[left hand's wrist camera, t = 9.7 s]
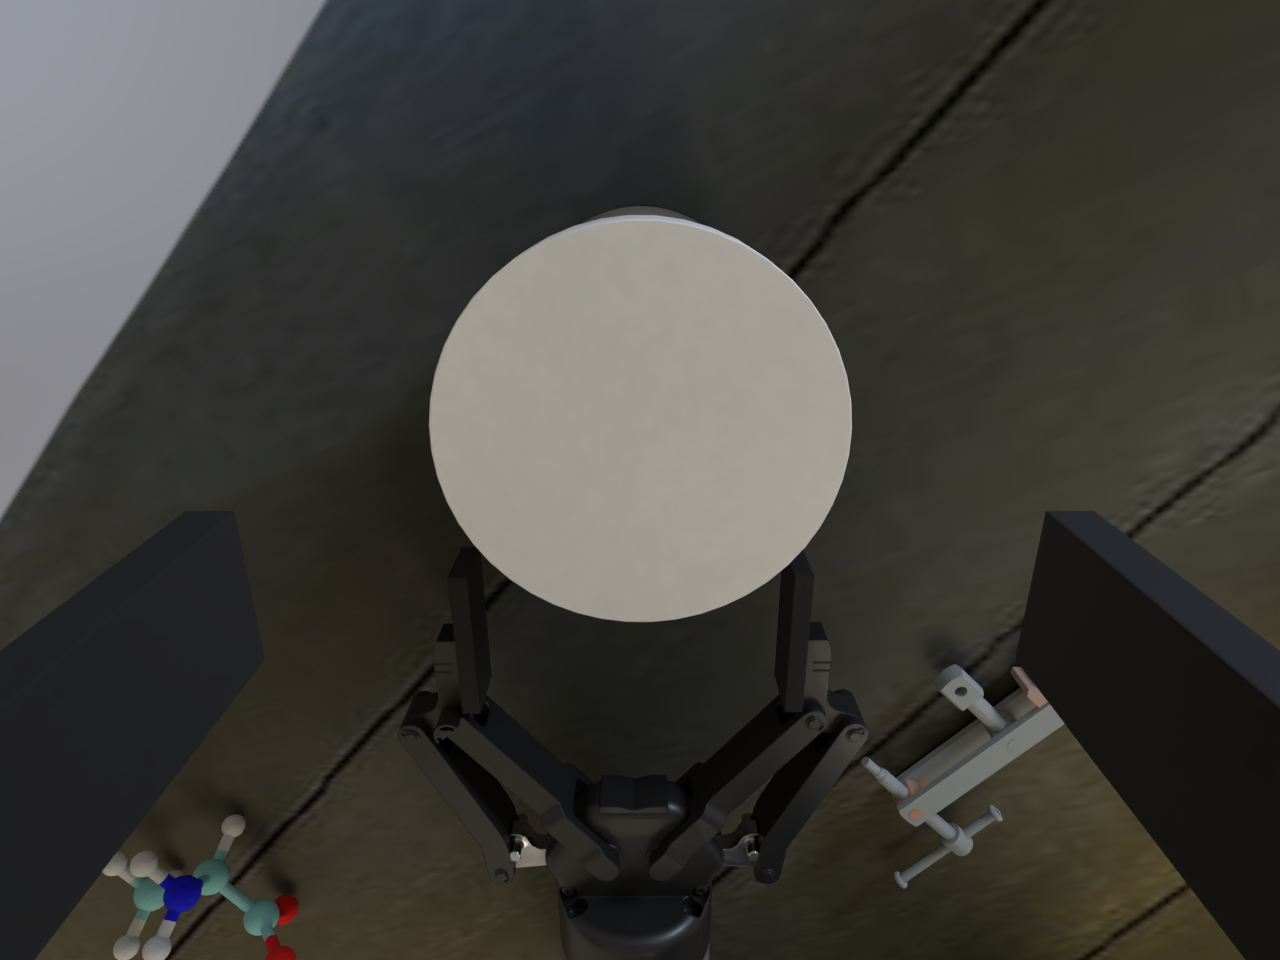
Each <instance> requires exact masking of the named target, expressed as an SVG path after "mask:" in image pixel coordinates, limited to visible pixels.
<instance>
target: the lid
mask: <svg viewBox="0 0 1280 960" xmlns="http://www.w3.org/2000/svg"><path fill="white" fill-rule="evenodd" d="M429 431H430V442H431V452H432V456H433V460H434V465H435V469H436V473H437V477H438V480H439V483H440V485H441V488H442V490H443V493H444V496H445V498H446V501H447V503H448V505H449V507H450V508H451V510H452V512H453V514H454V516H455V518H456V520H457V521H458V523H459V525H460V526H461V528H462V529H463V530H464V532H465V533H466V535H467V536H468V537H469V539H470V540H471V542H472V543H473V544H474V545H475V547H476V548H477V549H478V550H479V551H480V552H481V553H482V554H483V555H484V556H485V557H486V558H487V560H488V561H489V562H490V563H491V564H493V565H494V566H495V567H496V568H497V569H498V570H500V571H501V572H502V573H503V574H504V575H505V576H507V577H508V578H509V579H510V580H512V581H513V582H515V583H516V584H518V585H519V586H521V587H522V588H524V589H525V590H527V591H528V592H530V593H532V594H534V595H536V596H538V597H540V598H542V599H544V600H546V601H548V602H550V603H552V604H554V605H557V606H559V607H562V608H565V609H567V610H570V611H573V612H576V613H579V614H583V615H588V616H592V617H596V618H600V619H607V620H615V621H624V622H656V621H666V620H675V619H680V618H685V617H689V616H694V615H698V614H702V613H705V612H708V611H711V610H713V609H716V608H719V607H722V606H725V605H727V604H729V603H731V602H733V601H735V600H737V599H739V598H741V597H744V596H746V595H747V594H749V593H751V592H752V591H754V590H755V589H757V588H759V587H760V586H762V585H763V584H765V583H766V582H768V581H769V580H770V579H772V578H773V577H774V576H775V575H777V574H778V573H779V572H780V571H781V570H783V569H784V568H785V567H786V566H788V565H789V563H790V562H791V561H792V560H793V559H794V558H795V557H796V556H797V555H798V554H799V553H800V552H801V551H802V550H803V549H804V548H805V547H806V545H807V544H808V543H809V541H810V540H811V539H812V537H813V536H814V535H815V533H816V532H817V531H818V529H819V528H820V526H821V525H822V523H823V521H824V519H825V517H826V516H827V514H828V512H829V510H830V509H831V507H832V505H833V503H834V500H835V498H836V495H837V493H838V490H839V488H840V485H841V483H842V480H843V477H844V473H845V469H846V465H847V461H848V457H849V450H850V442H851V433H852V411H851V398H850V392H849V385H848V379H847V375H846V371H845V368H844V365H843V362H842V359H841V355H840V352H839V349H838V347H837V345H836V343H835V341H834V339H833V337H832V335H831V332H830V330H829V328H828V326H827V324H826V323H825V321H824V320H823V318H822V317H821V315H820V314H819V312H818V311H817V309H816V308H815V306H814V305H813V303H812V302H811V300H810V299H809V298H808V297H807V296H806V295H805V294H804V292H803V291H802V290H801V289H800V288H799V287H798V286H797V285H796V283H795V282H794V281H793V280H792V279H791V278H790V277H788V276H787V275H786V274H785V273H784V272H783V271H781V270H780V269H779V268H778V267H777V266H776V265H774V264H773V263H772V262H771V261H770V260H768V259H767V258H765V257H764V256H763V255H761V254H760V253H758V252H757V251H755V250H753V249H752V248H750V247H749V246H747V245H745V244H744V243H742V242H741V241H739V240H738V239H736V238H734V237H731V236H729V235H727V234H725V233H723V232H720V231H718V230H716V229H714V228H712V227H708V226H705V225H701V224H698V223H695V222H691V221H688V220H685V219H678V218H671V217H665V216H658V215H625V216H617V217H609V218H601V219H597V220H594V221H590V222H586V223H583V224H579V225H575V226H572V227H570V228H568V229H565V230H563V231H561V232H558V233H556V234H554V235H551V236H549V237H547V238H545V239H544V240H542V241H541V242H539V243H537V244H536V245H534V246H532V247H531V248H529V249H527V250H526V251H524V252H523V253H521V254H520V255H518V256H517V257H516V258H514V259H513V260H512V261H511V262H509V263H508V264H507V265H506V266H504V267H503V268H502V269H501V270H499V271H498V272H497V273H496V274H495V275H493V276H492V277H491V278H490V279H489V280H488V281H487V283H486V284H485V285H484V286H483V287H482V288H481V289H480V290H479V291H478V292H477V293H476V294H475V295H474V297H473V298H472V299H471V301H470V302H469V303H468V305H467V306H466V308H465V309H464V311H463V312H462V314H461V315H460V316H459V318H458V319H457V321H456V323H455V325H454V327H453V329H452V331H451V333H450V335H449V337H448V339H447V341H446V343H445V344H444V347H443V350H442V353H441V356H440V359H439V362H438V365H437V368H436V371H435V375H434V380H433V386H432V391H431V396H430V412H429Z"/></svg>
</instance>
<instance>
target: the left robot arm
mask: <svg viewBox="0 0 1280 960" xmlns="http://www.w3.org/2000/svg"><path fill="white" fill-rule="evenodd" d="M264 659H265V658H264V654H263V649H262V644H261V639H260V634H259V630H258V625H257V620H256V615H255V610H254V605H253V601H252V596H251V591H250V586H249V581H248V576H247V572H246V567H245V562H244V557H243V552H242V547H241V543H240V538H239V533H238V528H237V523H236V519H235V514H234V511H185V512H184V513H183V514H181V515H180V516H179V517H177V518H176V519H175V520H173V521H172V522H171V523H169V524H168V525H167V526H165V527H164V528H163V529H162V530H160V531H159V532H158V533H156V534H155V535H154V536H152V537H151V538H150V539H148V540H147V541H146V542H144V543H143V544H142V545H140V546H139V547H138V548H136V549H135V550H134V551H132V552H131V553H130V554H128V555H127V556H126V557H124V558H123V559H122V560H120V561H119V562H118V563H116V564H115V565H114V566H112V567H111V568H110V569H108V570H107V571H106V572H104V573H103V574H102V575H100V576H99V577H98V578H96V579H95V580H94V581H92V582H91V583H90V584H88V585H87V586H86V587H84V588H83V589H82V590H80V591H79V592H78V593H76V594H75V595H74V596H73V597H71V598H70V599H69V600H67V601H66V602H65V603H63V604H62V605H61V606H59V607H58V608H57V609H55V610H54V611H53V612H51V613H50V614H49V615H47V616H46V617H45V618H43V619H42V620H41V621H39V622H38V623H37V624H35V625H34V626H33V627H31V628H30V629H29V630H27V631H26V632H25V633H23V634H22V635H21V636H19V637H18V638H17V639H15V640H14V641H13V642H11V643H10V644H9V645H7V646H6V647H5V648H3V649H2V650H1V651H0V960H35V958H36V957H37V956H38V954H39V953H40V952H41V951H42V949H43V948H44V947H45V945H46V944H47V943H48V941H49V940H50V939H51V937H52V936H53V935H54V934H55V932H56V931H57V930H58V928H59V927H60V926H61V924H62V923H63V922H64V920H65V919H66V918H67V917H68V915H69V914H70V913H71V911H72V910H73V909H74V907H75V906H76V905H77V904H78V902H79V901H80V900H81V898H82V897H83V896H84V894H85V893H86V892H87V890H88V889H89V888H90V887H91V885H92V884H93V883H94V881H95V880H96V879H97V877H98V876H99V875H100V873H101V872H102V871H103V870H104V868H105V867H106V866H107V864H108V863H109V862H110V860H111V859H112V858H113V857H114V855H115V854H116V853H117V851H118V850H119V849H120V847H121V846H122V845H123V843H124V842H125V841H126V840H127V838H128V837H129V836H130V834H131V833H132V832H133V830H134V829H135V828H136V827H137V825H138V824H139V823H140V821H141V820H142V819H143V817H144V816H145V815H146V813H147V812H148V811H149V810H150V808H151V807H152V806H153V804H154V803H155V802H156V800H157V799H158V798H159V796H160V795H161V794H162V793H163V791H164V790H165V789H166V787H167V786H168V785H169V783H170V782H171V781H172V780H173V778H174V777H175V776H176V774H177V773H178V772H179V770H180V769H181V768H182V766H183V765H184V764H185V763H186V761H187V760H188V759H189V757H190V756H191V755H192V753H193V752H194V751H195V749H196V748H197V747H198V746H199V744H200V743H201V742H202V740H203V739H204V738H205V736H206V735H207V734H208V733H209V731H210V730H211V729H212V727H213V726H214V725H215V723H216V722H217V721H218V719H219V718H220V717H221V716H222V714H223V713H224V712H225V710H226V709H227V708H228V706H229V705H230V704H231V702H232V701H233V700H234V699H235V697H236V696H237V695H238V693H239V692H240V691H241V689H242V688H243V687H244V686H245V684H246V683H247V682H248V680H249V679H250V678H251V676H252V675H253V674H254V672H255V671H256V670H257V669H258V667H259V666H260V665H261V663H262V662H263V661H264ZM1015 659H1016V661H1017V662H1018V663H1019V665H1020V666H1021V667H1022V669H1023V670H1024V671H1025V672H1026V674H1027V675H1028V676H1029V678H1030V679H1031V680H1032V682H1033V683H1034V684H1035V686H1036V687H1037V688H1038V689H1039V691H1040V692H1041V693H1042V695H1043V696H1044V697H1045V699H1046V700H1047V701H1048V702H1049V704H1050V705H1051V706H1052V708H1053V709H1054V710H1055V712H1056V713H1057V714H1058V716H1059V717H1060V718H1061V719H1062V721H1063V722H1064V723H1065V725H1066V726H1067V727H1068V729H1069V730H1070V731H1071V733H1072V734H1073V735H1074V736H1075V738H1076V739H1077V740H1078V742H1079V743H1080V744H1081V746H1082V747H1083V748H1084V749H1085V751H1086V752H1087V753H1088V755H1089V756H1090V757H1091V759H1092V760H1093V761H1094V763H1095V764H1096V765H1097V766H1098V768H1099V769H1100V770H1101V772H1102V773H1103V774H1104V776H1105V777H1106V778H1107V780H1108V781H1109V782H1110V783H1111V785H1112V786H1113V787H1114V789H1115V790H1116V791H1117V793H1118V794H1119V795H1120V796H1121V798H1122V799H1123V800H1124V802H1125V803H1126V804H1127V806H1128V807H1129V808H1130V810H1131V811H1132V812H1133V813H1134V815H1135V816H1136V817H1137V819H1138V820H1139V821H1140V823H1141V824H1142V825H1143V827H1144V828H1145V829H1146V830H1147V832H1148V833H1149V834H1150V836H1151V837H1152V838H1153V840H1154V841H1155V842H1156V843H1157V845H1158V846H1159V847H1160V849H1161V850H1162V851H1163V853H1164V854H1165V855H1166V857H1167V858H1168V859H1169V860H1170V862H1171V863H1172V864H1173V866H1174V867H1175V868H1176V870H1177V871H1178V872H1179V873H1180V875H1181V876H1182V877H1183V879H1184V880H1185V881H1186V883H1187V884H1188V885H1189V887H1190V888H1191V889H1192V890H1193V892H1194V893H1195V894H1196V896H1197V897H1198V898H1199V900H1200V901H1201V902H1202V904H1203V905H1204V906H1205V907H1206V909H1207V910H1208V911H1209V913H1210V914H1211V915H1212V917H1213V918H1214V919H1215V920H1216V922H1217V923H1218V924H1219V926H1220V927H1221V928H1222V930H1223V931H1224V932H1225V934H1226V935H1227V936H1228V937H1229V939H1230V940H1231V941H1232V943H1233V944H1234V945H1235V947H1236V948H1237V949H1238V951H1239V952H1240V953H1241V954H1242V956H1243V957H1244V958H1245V960H1280V651H1279V650H1278V649H1277V648H1275V647H1274V646H1273V645H1271V644H1270V643H1269V642H1267V641H1266V640H1265V639H1263V638H1262V637H1261V636H1259V635H1258V634H1257V633H1255V632H1254V631H1253V630H1251V629H1250V628H1249V627H1247V626H1246V625H1245V624H1243V623H1242V622H1241V621H1239V620H1238V619H1237V618H1235V617H1234V616H1233V615H1231V614H1230V613H1229V612H1227V611H1226V610H1225V609H1223V608H1222V607H1221V606H1219V605H1218V604H1217V603H1215V602H1214V601H1213V600H1211V599H1210V598H1209V597H1207V596H1206V595H1205V594H1204V593H1202V592H1201V591H1200V590H1198V589H1197V588H1196V587H1194V586H1193V585H1192V584H1190V583H1189V582H1188V581H1186V580H1185V579H1184V578H1182V577H1181V576H1180V575H1178V574H1177V573H1176V572H1174V571H1173V570H1172V569H1170V568H1169V567H1168V566H1166V565H1165V564H1164V563H1162V562H1161V561H1160V560H1158V559H1157V558H1156V557H1154V556H1153V555H1152V554H1150V553H1149V552H1148V551H1146V550H1145V549H1144V548H1142V547H1141V546H1140V545H1138V544H1137V543H1136V542H1134V541H1133V540H1132V539H1130V538H1129V537H1128V536H1126V535H1125V534H1124V533H1122V532H1121V531H1120V530H1118V529H1117V528H1116V527H1115V526H1113V525H1112V524H1111V523H1109V522H1108V521H1107V520H1105V519H1104V518H1103V517H1101V516H1100V515H1099V514H1097V513H1096V512H1095V511H1046V514H1045V519H1044V523H1043V528H1042V533H1041V538H1040V543H1039V547H1038V552H1037V557H1036V562H1035V567H1034V572H1033V576H1032V581H1031V586H1030V591H1029V596H1028V601H1027V605H1026V610H1025V615H1024V620H1023V625H1022V630H1021V634H1020V639H1019V644H1018V649H1017V654H1016V658H1015Z"/></svg>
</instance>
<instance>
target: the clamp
mask: <svg viewBox="0 0 1280 960" xmlns="http://www.w3.org/2000/svg"><path fill="white" fill-rule="evenodd" d="M1011 675H1012V676H1013V677H1014V679H1015V680H1016V682H1017V683H1018V684H1019V686H1020V688H1019V689H1018V690H1016V691H1015V692H1013V693H1012V694H1011V695H1009V696H1008V697H1007V698H1005V699H1004V700H1002V701H1001V702H1000V703H998V704H997V705H996V706H994V707H992V706H991V705H990V704H989V703H988V702H987V701H986V700H985V699H984V698H983V696H984V692H983V689H982V687H980V686H979V685H978V684H977V683H976V682H975V681H974V680H973V679H972V678H971V677H970V676H969V675H968V674H967V673H966V672H965V671H964V670H963V669H962V668H961V667H959V666H958V665H955V664H954V665H952V666H949V667H948V668H946V669H945V670H943V671H942V672H941V673H940V674H939V675H938V676H937V677H936V678H935V685H936V688H937V689H938V690H939V691H940V692H941V693H942V694H943V695H944V696H946V697H947V698H948V699H949V700H950V701H951V702H952V703H953V704H954V705H955V706H956V707H957V708H958V709H960V710H962V711H964V710H965V709H967V708H968V709H969V710H970V711H971V712H972V713H973V714H974V715H975V716H976V717H977V718H978V719H976V720H975V721H973V722H972V723H971V724H969V725H968V726H967V727H965V728H964V729H962V730H961V731H960V732H958V733H957V734H956V735H954V736H953V737H951V738H950V739H949V740H947V741H946V742H945V743H943V744H942V745H940V746H939V747H938V748H936V749H935V750H933V751H932V752H931V753H929V754H928V755H927V756H925V757H924V758H922V759H921V760H920V761H918V762H917V763H916V764H914V765H913V766H911V767H910V768H909V769H907V770H906V771H905V772H903V773H902V774H900V775H899V776H898V777H896V778H895V777H894V776H893V775H891V774H890V773H889V772H888V771H887V770H886V769H882V768H881V767H880V766H877V765H876V764H875V763H874V762H873V761H872V760H870V759H869V758H868V757H864V758H863V759H862V761H861V764H862V765H863V766H864V767H865V768H866V769H867V770H869V771H870V772H871V773H872V775H873V776H874V777H875V778H876V780H877V781H878V782H879V783H880V784H881V785H882V786H884V787H885V788H886V789H887V790H888V791H890V792H891V793H892V796H893V799H894V801H895V804H896V806H897V809H898V811H899V814H900V815H901V816H902V817H903V818H904V819H905V820H907V821H908V822H909V823H911V824H912V825H914V826H916V827H918V826H919V825H920V824H922V823H923V822H926V823H927V824H928V825H929V826H930V827H932V828H933V829H934V830H935V831H936V832H937V833H939V834H940V840H941V842H942V843H943V844H942V845H940V846H939V847H937V848H936V849H934V850H933V851H932V852H930V853H929V854H927V855H926V856H925V857H923V858H922V859H920V860H919V861H917V862H916V863H915V864H913V865H912V866H910V867H909V868H908V869H906V870H905V871H903V872H902V873H900V872H898V871H896V872H894V878H895V880H896V882H897V883H898V885H899V886H900V887H902V888H907V881H909V880H910V879H911V878H913V877H914V876H916V875H917V874H919V873H920V872H921V871H923V870H924V869H926V868H927V867H929V866H930V865H931V864H933V863H934V862H936V861H937V860H939V859H940V858H941V857H943V856H944V855H946V854H947V853H948V852H950V851H953V852H954V853H955V854H956V855H958V856H965V855H967V854H968V853H969V852H970V851H971V850H972V847H973V841H972V838H971V836H973V835H974V834H976V833H977V832H978V831H980V830H981V829H983V828H984V827H985V826H987V825H988V824H990V823H991V822H993V821H994V820H997V821H998V822H1001V821H1002V820H1003V818H1002V815H1001V813H1000V811H999V810H998V809H997V808H995V807H994V806H993V805H989V806H988V812H987V813H985V814H984V815H982V816H981V817H980V818H978V819H977V820H975V821H974V822H973V823H971V824H970V825H968V826H967V827H966V828H964V829H963V830H962V829H961V828H960V827H959V826H957V825H956V824H954V823H947V822H946V821H945V820H943V819H942V818H941V817H940V816H939V815H938V814H937V813H938V812H939V811H940V810H942V809H943V808H945V807H946V806H948V805H949V804H951V803H952V802H953V801H955V800H956V799H958V798H959V797H961V796H962V795H963V794H965V793H966V792H968V791H969V790H971V789H972V788H973V787H975V786H976V785H978V784H979V783H981V782H982V781H983V780H985V779H986V778H988V777H989V776H991V775H992V774H994V773H995V772H996V771H998V770H999V769H1001V768H1002V767H1004V766H1005V765H1006V764H1008V763H1009V762H1011V761H1012V760H1014V759H1015V758H1016V757H1018V756H1019V755H1021V754H1022V753H1024V752H1025V751H1027V750H1028V749H1029V748H1031V747H1032V746H1034V745H1035V744H1037V743H1038V742H1039V741H1041V740H1042V739H1044V738H1045V737H1047V736H1048V735H1049V734H1051V733H1052V732H1054V731H1055V730H1057V729H1058V728H1059V727H1061V726H1062V725H1064V724H1065V723H1064V722H1063V721H1062V719H1061V718H1060V717H1059V716H1058V714H1057V713H1056V712H1055V710H1054V709H1053V708H1052V706H1051V705H1050V704H1049V702H1048V701H1047V700H1046V699H1045V697H1044V696H1043V695H1042V693H1041V692H1040V691H1039V689H1038V688H1037V687H1036V686H1035V684H1034V683H1033V682H1032V680H1031V679H1030V678H1029V676H1028V675H1027V674H1026V672H1025V671H1024V670H1023V669H1022V667H1012V668H1011Z"/></svg>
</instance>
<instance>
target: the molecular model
mask: <svg viewBox="0 0 1280 960" xmlns="http://www.w3.org/2000/svg"><path fill="white" fill-rule="evenodd" d="M244 828H245V820H244V818H243V817H242V816H240V815H238V814H233V815H231V816H228V817H227V818H226V819H225V820H224V822H223V823H222V832H223V834H224V835H223V837H222V839H221V841H220V844H219V846H218V848H217V850H216V853H215V855H214V857H213V859H208V860H206V861H204V862H202V863H201V864H200V865H199V866H198V867H197V868H196V869H195V871H194V873H193V876H192V875H185V874H184V872H182V871H180V870H173V871H170V872H169V873H168V872H166V871H165V870H164V869H163V868H161V867H160V866H159V865H158V856H157V855H156V853H154V852H152V851H142V852H139V853H138V854H136V855H135V856H134V857H133V859H132V861H131V863H130V866H129V865H127V864H128V858H127V856H126V855H125V854H124V853H122V852H117V853H116V854H115V855H114V857H113V858H112V859H111V860H110V862H109V863H108V864H107V866H106V867H105V868H104V870H103V871H102V872H103V873H104V874H105V875H107V876H116V875H118V876H120V877H121V878H122V879H124V880H125V881H126V882H128V883H129V884H130V885H131V886H133V887H134V888H135V892H134V903H135V905H136V907H137V908H138V909H139V910H138V912H137V914H136V916H135V918H134V920H133V922H132V924H131V926H130V928H129V930H128V932H127V934H126V935H125V936H123V937H121V938H120V939H119V940H118V941H117V942H116V944H115V945H114V948H113V954H114V956H115V958H116V959H118V960H128V959H130V958H132V957H133V956H134V955H135V954H136V953H137V952H138V950H139V947H140V940H139V939H138V937H139V934H140V932H141V930H142V928H143V926H144V924H145V922H146V920H147V917H148V915H149V913H150V911H154V910H157V909H159V908H161V907H162V906H163V905H165V907H166V908H167V909H168V911H167V913H166V915H165V918H164V919H163V922H162V924H161V926H160V928H159V930H158V932H157V935H156V936H154V937H152V938H150V939H149V940H148V941H147V942H146V943H145V945H144V947H143V951H142V956H143V959H144V960H164V959H165V958H166V957H167V956H168V954H169V953H170V951H171V941H170V939H169V937H170V935H171V933H172V931H173V929H174V926H175V924H176V922H177V919H178V917H179V915H180V913H181V912H185V911H187V910H189V909H191V908H192V907H193V906H194V905H195V904H196V903H197V902H198V900H199V898H200V896H201V895H212V894H215V893H217V892H220V893H221V894H222V895H224V896H225V897H226V898H227V899H229V900H230V901H231V902H232V903H234V904H235V905H236V906H238V907H239V908H240V909H241V910H243V911H244V912H245V915H244V927H245V929H246V930H247V932H249V933H250V934H252V935H256V936H257V935H262V937H263V939H264V942H265V944H266V947H267V949H268V952H269V954H268V956H267V957H266V959H265V960H296V955H295V952H294V951H293V949H291V948H290V947H287V946H280V944H279V941H278V939H277V936H276V934H275V931H274V929H273V928H274V927H275V925H276V923H277V924H287V923H289V922H290V921H292V920H293V919H294V918H295V916H296V914H297V913H298V907H299V904H298V901H297V899H296V898H295V897H294V896H292V895H282V896H280V897H278V898H277V899H276V900H275V901H273V900H271V899H267V898H266V899H259V900H257V901H255V902H253V901H252V900H251V899H249V898H248V897H247V896H246V895H244V894H243V893H242V892H240V891H239V890H238V889H237V888H235V887H234V886H233V885H232V884H230V883H229V882H228V879H229V868H228V865H227V864H226V863H225V862H224V860H225V858H226V855H227V853H228V851H229V849H230V847H231V844H232V842H233V840H234V838H235V837H237V836H238V835H240V834H241V833H242V832H243V830H244ZM146 876H148V877H147V878H144V877H146Z"/></svg>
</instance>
